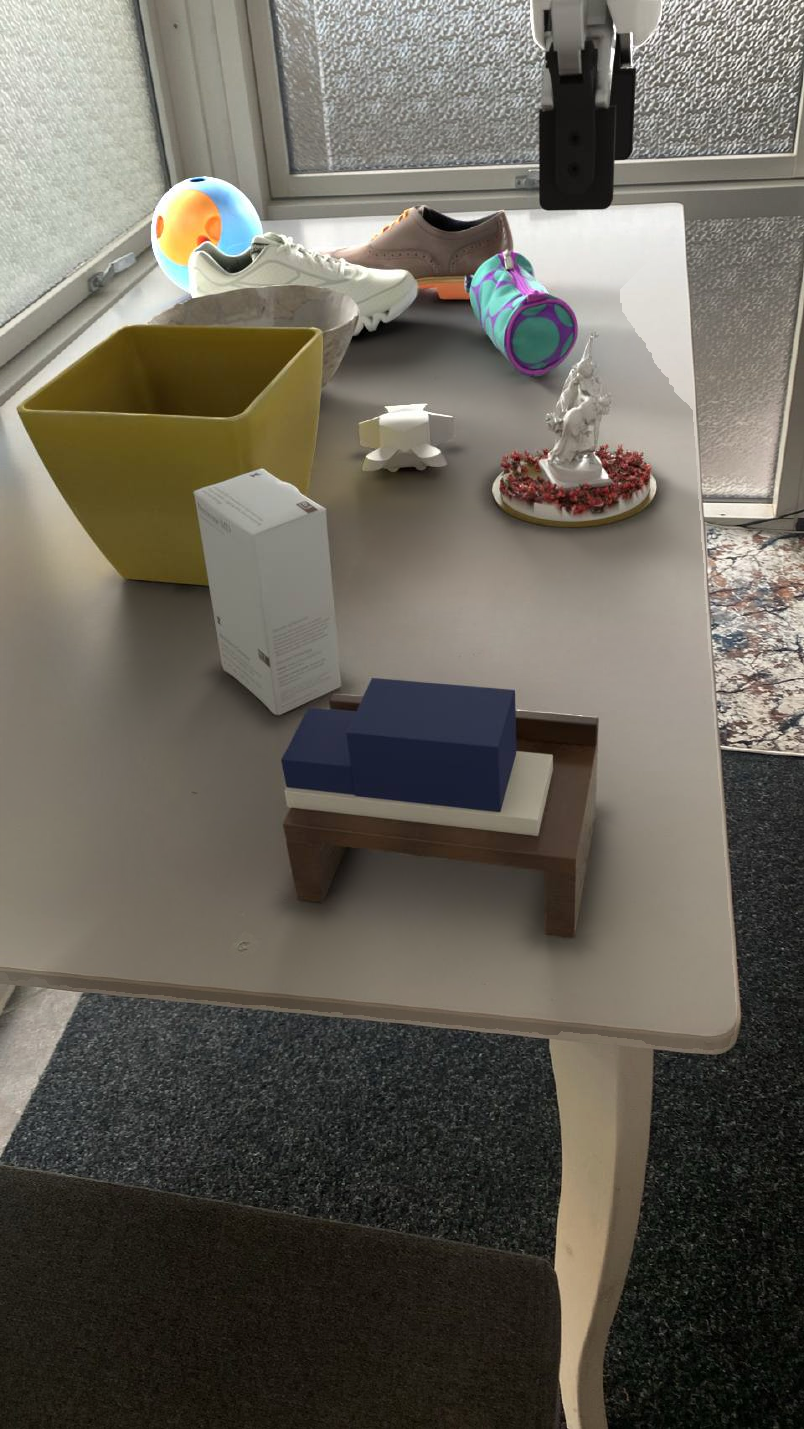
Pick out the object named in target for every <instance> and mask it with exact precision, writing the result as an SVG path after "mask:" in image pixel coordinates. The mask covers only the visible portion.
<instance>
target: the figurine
mask: <svg viewBox="0 0 804 1429" xmlns="http://www.w3.org/2000/svg"><path fill="white" fill-rule="evenodd" d="M599 336H600V334H599V333H598V331H596V332H595V331H594V332H592V333H591V334H590V336H589V340H588V341H587V344H586V346H585V348H584V352H583V355H582V357H581V360H579V361H578V363H575V364H573V365H571V370H570V372H569V373H568V377H567V378H566V380H565V382H564V384H563V387H562V390H561V395H560V396H559V399H558V401H557V403H556V405H555V407H554V409H553V413H552V412H551V413H548V412H547V413H546V414H545V424H546V427H547V428H548V430H549V431H550V432H553V433H554V434H555V444H554V447H553V449H552V450H551V451H550V450H549V449H547V448H545V449H542V454H540V453H541V451H540V450H536V452H535V453H537V454H539V455H537V456H532V454H530V452H528V451H527V449H524V452H523V453H524V455H523V454H522V453H520V452H517V450H516V449H515V450H513V451H512V452H510V453H509V454H507V455H505V454H504V456H502V459H501V461H500V468H503V471H502V472H500V474H498V476H497V477H496V478H495V480H494V482H493V483H492V488H491V492H492V498H493V500H494V502H495V504H496V505H497V506H498V507H499V508H500V509H501V510H502V511H504V512H505V513H506V514H508V515H510V516H512V517H514V518H516V519H519V520H522V521H525V522H528V523H532V524H536V525H542V526H547V527H556V528H586V527H595V526H602V525H603V526H604V525H607V524H612V523H616V522H619V521H622V520H626V519H628V518H630V517H633V516H635V515H637V514H638V513H640V512H642V511H643V510H645V509H646V508H647V507H648V506H649V505H650V504H651V503H652V502H653V501H654V499H655V497H656V494H657V487H658V486H657V481H656V479H655V477H654V476H653V474H652V464H651V463H650V462H648V463H647V462H646V461H644V452H642V451H641V452H640V453H639V451H637V450H635V451H633V450H631V451H629V449H627V450H626V451H625V450H624V449H623V443H621V444H620V445H618V446H617V450H614V451H613V452H609V451H608V450H607V449H608V448H609V447H610V446H609V444H608V443H605V444H604V445H603V444H602V445H600V446H599V448H598V449H597V447H598V444H599V439H600V438H599V437H600V426H601V422H602V419H603V416H607V415H609V413H610V411H611V410H610V409H611V404H612V403H611V402H612V396H613V395H612V393H611V392H608V393H607V394H606V395H605V394H604V395H602V393H603V379H602V378H601V377H599V376H595V375H594V373H595V369H597V368H598V362H592V361H593V358H592V356H591V355H590V354H591V350H592V346H593V345H592V344H593V341H594V339H596V338H598V337H599ZM596 383H597V384H598V387H597V391H595V384H596ZM590 426H592V427H593V431H592V430H591V429H590ZM590 435H593V444H592V442H591V441H592V440H591V436H590ZM596 449H597V450H596ZM624 451H625V453H624ZM509 458H511V459H509ZM507 460H508V462H507Z"/></svg>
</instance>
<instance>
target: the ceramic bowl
mask: <svg viewBox="0 0 804 1429" xmlns="http://www.w3.org/2000/svg"><path fill="white" fill-rule="evenodd" d="M358 319H359V307H358V305H357V304H356V303H355V302H354V301H353V300H352V299H351V298H350V297H348V296H347V295H345V294H341V293H339V292H336V291H333V290H330V289H328V288H322V287H316V286H309V285H274V286H265V287H257V288H252V287H249V288H243V289H236V290H231V291H226V292H221V293H217V294H211V295H204V296H201V297H195V298H192V297H191V298H188V299H186V300H183V301H182V302H181V303H180V302H179V303H176V304H175V305H173V306H171V307H169V308H167V309H165V310H163V311H161V312H159V313H157V314H155V315H154V316H153V317H151V319H149V321H147V324H146V325H199V326H252V327H296V328H317V329H320V330H321V331H322V342H323V347H322V378H321V390H322V389H323V388H325V386H326V385H327V384H328V383H329V382H330V381H331V379H333V377H334V375H335V374H336V372H337V370H338V368H339V366H340V365H341V362H342V359H343V358H344V356H345V355H346V352H347V350H348V347H349V345H350V343H351V340H352V338H353V336H352V335H353V333H354V331H355V328H356V325H357V322H358Z"/></svg>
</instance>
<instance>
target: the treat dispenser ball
mask: <svg viewBox="0 0 804 1429" xmlns="http://www.w3.org/2000/svg"><path fill="white" fill-rule="evenodd" d="M151 222H152V223H151V230H150V233H151V234H150V235H151V245H152V250H153V254H154V256H155V259H156V261H157V263H158V265H159V267H160V268H161V270H162V271H163V272H164V274H165V276H167V278H168V279H169V280H170V281H171V282H172V283H173V284H175V285H176V286H177V287H179V288H180V289H182V290H184V291H185V292H187V293H189V294H191V293H190V281H189V259H190V256H191V254H192V253H193V251H194V250H195V249H196V248H197V247H198V246H200V245H201V244H202V243H203V242H207V241H208V242H211V243H212V244H213V245H215V246H216V247H217V248H218V249H219V250H220V251H222V252H223V253H224V254H226V255H230V256H235V255H239V254H241V253H243V252H244V251H245V250H247V249H248V248H249V247H251V244H252V240H253V238H254V237H255V236H257V235H258V236H263V235H264V234H263V227H262V223H261V220H260V217H259V215H258V213H257V211H256V208H255V207H254V206H253V204H252V203H251V201H250V200H249V199H248V197H247V196H246V195H245V194H244V193H243V192H242V191H241V190H240V189H238V188H237V187H236V186H235V185H233V184H231V183H229V182H228V181H225V180H223V179H219V178H215V177H209V176H197V177H191V178H188V179H185V180H183V181H181V182H179V183H177V184H175V185H174V186H173V187H172V188H170V189H169V191H167V192H166V193H165V194H164V195H163V196H162V198H161V199H160V201H159V202H158V204H157V206H156V207H155V210H154V213H153V217H152V221H151Z"/></svg>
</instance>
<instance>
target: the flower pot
mask: <svg viewBox="0 0 804 1429" xmlns="http://www.w3.org/2000/svg"><path fill="white" fill-rule="evenodd" d="M322 347H323V342H322V331H321V330H320V329H317V328H296V327H252V326H199V325H147V324H141V323H139V324H128V325H123V326H121V327H119V328H118V329H116V330H115V331H113V332H112V333H111V334H109V335H108V336H107V337H105V339H103V340H102V341H100V342H99V343H98V344H97V345H95V346H94V347H92V348H91V349H90V350H88V351H87V352H85V354H83V355H82V356H80V357H79V358H77V359H76V360H75V361H74V362H72V363H71V364H70V365H69V366H66V368H65V369H64V370H62V371H61V372H59V373H58V374H56V375H55V376H54V377H52V378H51V379H50V380H49V381H48V382H46V383H45V384H44V385H43V386H41V387H40V388H38V389H37V390H36V391H35V392H33V393H32V394H31V395H29V396H28V397H27V398H25V399H24V400H22V402H19V404H18V405H17V406H16V412H17V414H18V417H19V419H20V421H21V423H22V426H23V427H24V430H25V431H26V433H27V435H28V437H29V439H30V441H31V444H32V445H33V447H34V450H35V451H36V453H37V455H38V457H39V459H40V461H41V462H42V464H43V466H44V468H45V469H46V471H47V473H48V475H49V477H50V478H51V480H52V482H53V483H54V485H55V487H56V489H57V490H58V492H59V493H60V495H61V496H62V498H63V500H64V501H65V503H66V505H67V506H68V507H69V509H70V511H71V512H72V514H73V515H74V517H75V519H76V520H77V521H78V522H79V524H80V525H81V526H82V528H83V529H84V531H85V532H86V534H87V535H88V536H89V538H90V539H91V541H92V542H93V543H94V544H95V546H96V547H97V548H98V550H99V551H100V552H101V554H102V555H103V556H104V557H105V559H106V560H107V561H108V563H110V565H111V566H112V567H113V568H114V569H115V570H116V572H117V573H118V575H119V576H121V577H122V578H124V579H126V580H127V579H128V580H139V581H150V582H158V583H159V582H161V583H170V584H171V583H172V584H182V585H183V584H185V585H197V586H207V587H209V582H208V575H207V569H206V563H205V557H204V550H203V544H202V538H201V532H200V526H199V519H198V513H197V508H196V502H195V496H194V491H196V490H198V489H201V488H204V487H207V486H210V485H214V484H217V483H220V482H223V481H226V480H229V479H232V478H234V477H237V476H240V475H243V474H246V473H249V472H252V471H255V470H258V469H264V470H266V471H267V472H268V473H270V474H271V475H273V476H274V477H276V478H277V479H279V480H280V481H282V482H286V483H289V484H291V485H293V486H295V487H296V488H297V489H298V490H299V492H300V493H301V494H302V495H304V496H305V497H307V495H308V490H309V485H310V480H311V474H312V469H313V463H314V457H315V451H316V444H317V436H318V427H319V418H320V409H321V408H320V407H321V394H322V389H321V378H322Z"/></svg>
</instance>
